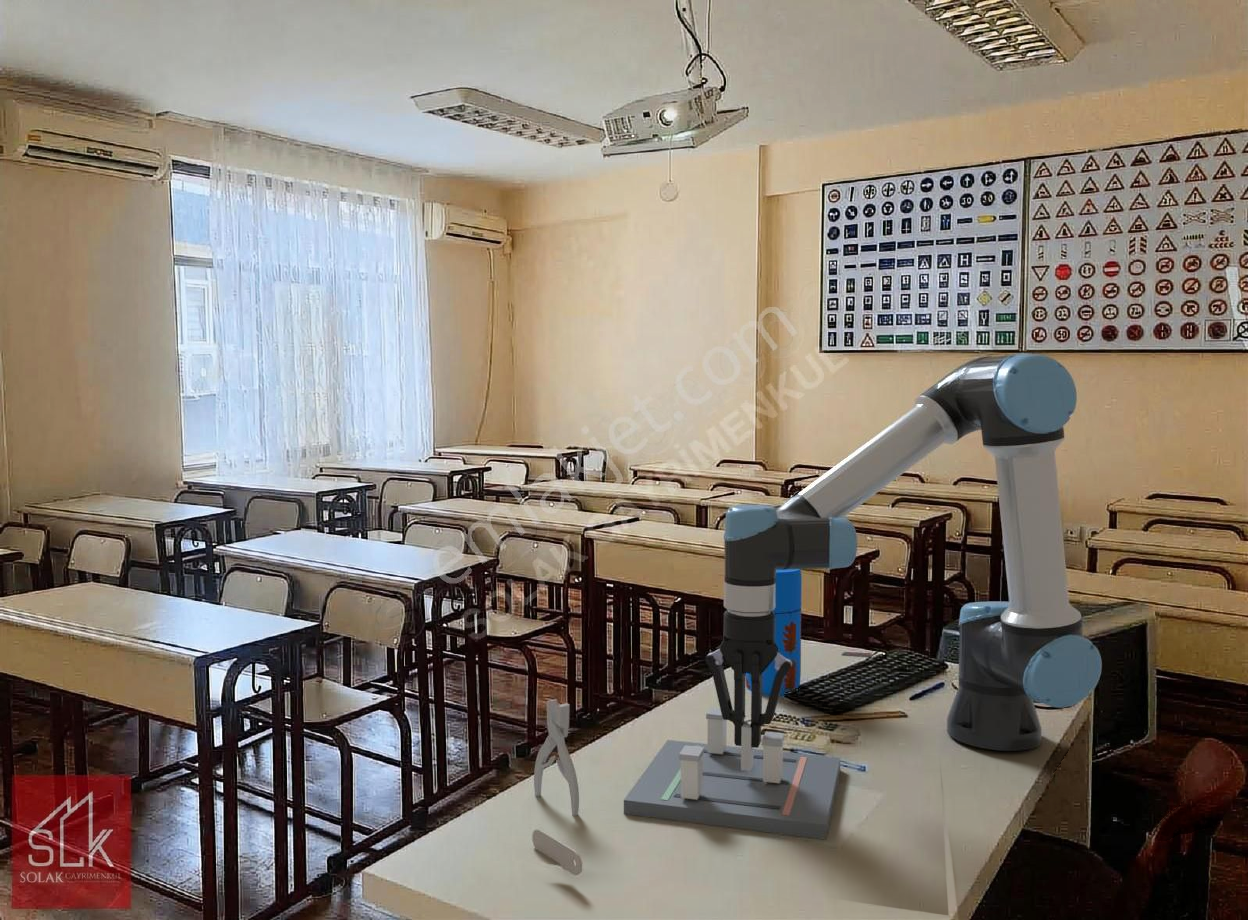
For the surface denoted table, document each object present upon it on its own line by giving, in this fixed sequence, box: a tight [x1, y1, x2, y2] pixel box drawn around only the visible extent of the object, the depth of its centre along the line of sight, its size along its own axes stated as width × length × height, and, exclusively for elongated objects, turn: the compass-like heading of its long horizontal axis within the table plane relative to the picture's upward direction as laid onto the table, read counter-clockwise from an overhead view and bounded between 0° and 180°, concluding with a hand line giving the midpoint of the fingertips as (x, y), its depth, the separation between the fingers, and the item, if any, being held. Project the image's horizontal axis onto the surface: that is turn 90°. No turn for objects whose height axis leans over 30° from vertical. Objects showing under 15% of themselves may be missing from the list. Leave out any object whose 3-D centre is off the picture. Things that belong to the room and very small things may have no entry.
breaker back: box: [705, 706, 727, 754], centre depth 154 cm, size 3×4×6 cm
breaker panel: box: [623, 739, 841, 840], centre depth 144 cm, size 28×25×2 cm
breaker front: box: [679, 745, 704, 800], centre depth 137 cm, size 3×4×6 cm
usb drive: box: [841, 651, 873, 658], centre depth 213 cm, size 5×12×3 cm, turn 76°
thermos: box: [745, 569, 802, 697], centre depth 192 cm, size 11×11×25 cm
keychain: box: [531, 828, 583, 876], centre depth 123 cm, size 10×1×3 cm, turn 39°
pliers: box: [533, 699, 580, 817], centre depth 139 cm, size 10×2×15 cm, turn 41°
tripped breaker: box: [761, 731, 786, 783], centre depth 143 cm, size 3×4×6 cm
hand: (747, 766), depth 144 cm, fingers closed
